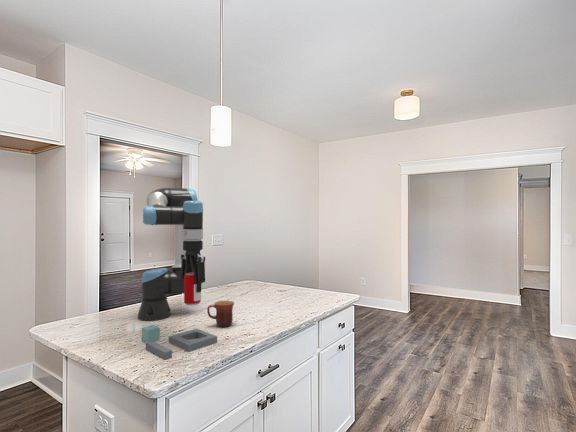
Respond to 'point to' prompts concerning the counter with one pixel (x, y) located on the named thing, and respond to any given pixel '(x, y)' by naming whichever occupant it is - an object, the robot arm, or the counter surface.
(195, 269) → the robot arm
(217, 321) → the mug
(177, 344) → the grey flat pieces
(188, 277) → the beverage can
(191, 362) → the counter surface
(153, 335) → the teal cube block
